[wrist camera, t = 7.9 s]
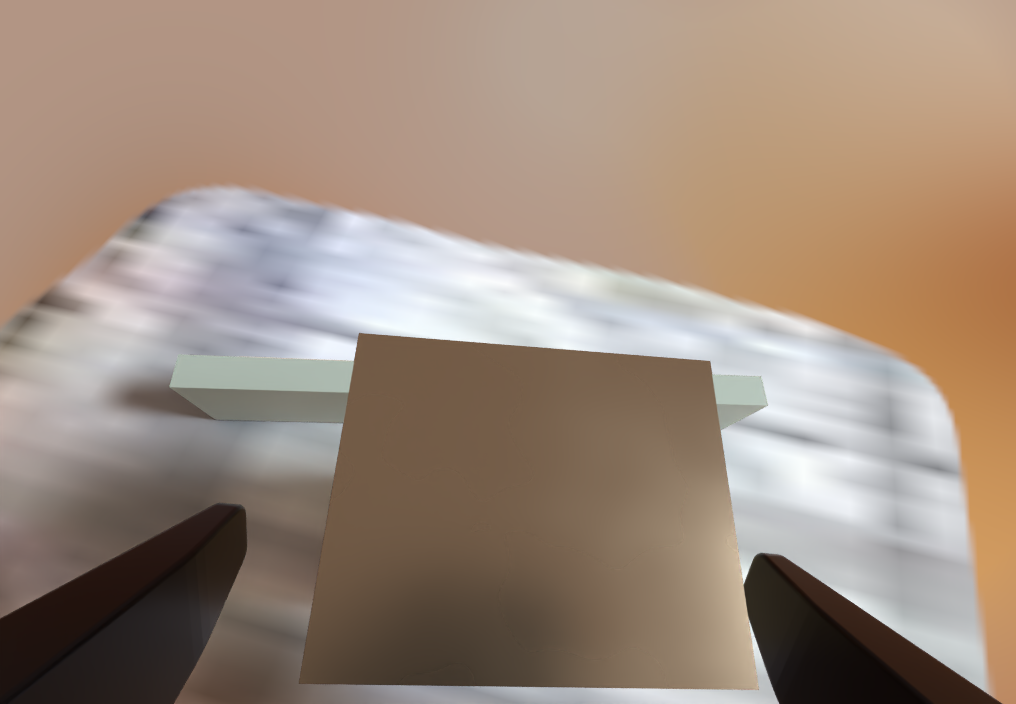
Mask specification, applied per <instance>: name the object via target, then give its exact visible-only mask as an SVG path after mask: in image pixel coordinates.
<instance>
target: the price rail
mask: <svg viewBox="0 0 1016 704" xmlns="http://www.w3.org/2000/svg"><path fill="white" fill-rule="evenodd" d="M353 365H354V361H346V360H319V359H293V358H266V357H229V356H202V355H178V358H177V361H176V365H175V368H174V372H173V375H172V379H171V383H170V386H169V387H170V388H171V389H172V390H174V391H175V392H177V393H178V394H180V395H181V396H182V397H184V398H185V399H187V400H188V401H190V402H191V403H192V404H194V405H195V406H197V407H198V408H199V409H201V410H202V411H204V412H205V413H207V414H208V415H209V416H211V417H212V418H214V419H215V420H244V421H286V422H328V423H344V417H345V411H346V406H347V400H348V394H349V388H350V382H351V376H352V371H353ZM712 377H713V384H714V390H715V397H716V404H717V411H718V417H719V424H720V431H721V430H723V429H724V428H726V427H728V426H730V425H732V424H734V423H736V422H738V421H740V420H741V419H743V418H745V417H747V416H749V415H751V414H753V413H755V412H757V411H758V410H760V409H762V408H764V407H766V406H768V403H767V399H766V395H765V391H764V386H763V382H762V378H761V376H735V375H712Z"/></svg>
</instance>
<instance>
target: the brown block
mask: <svg viewBox="0 0 1016 704" xmlns="http://www.w3.org/2000/svg"><path fill="white" fill-rule="evenodd" d="M299 684H355V685H431V686H507V687H584V688H660V689H737V690H759V687H758V680H757V673H756V667H755V660H754V653H753V646H752V640H751V633H750V626H749V619H748V613H747V606H746V599H745V592H744V586H743V579H742V572H741V566H740V559H739V552H738V545H737V539H736V532H735V525H734V518H733V512H732V505H731V498H730V491H729V485H728V478H727V471H726V464H725V458H724V451H723V444H722V438H721V431H720V424H719V417H718V411H717V404H716V397H715V390H714V384H713V377H712V370H711V363H710V361H702V360H689V359H677V358H664V357H652V356H639V355H627V354H614V353H601V352H589V351H576V350H564V349H551V348H539V347H526V346H514V345H501V344H488V343H476V342H463V341H451V340H438V339H426V338H413V337H401V336H388V335H376V334H363V333H359V336H358V342H357V347H356V353H355V359H354V365H353V371H352V376H351V382H350V388H349V394H348V400H347V406H346V411H345V417H344V423H343V429H342V435H341V440H340V446H339V452H338V458H337V464H336V470H335V475H334V481H333V487H332V493H331V499H330V504H329V510H328V516H327V522H326V528H325V533H324V539H323V545H322V551H321V557H320V563H319V568H318V574H317V580H316V586H315V592H314V597H313V603H312V609H311V615H310V621H309V627H308V632H307V638H306V644H305V650H304V656H303V661H302V667H301V673H300V679H299Z"/></svg>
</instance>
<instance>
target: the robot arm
mask: <svg viewBox="0 0 1016 704" xmlns="http://www.w3.org/2000/svg"><path fill="white" fill-rule="evenodd" d="M246 550H247V529H246V511H245V508H244V507H243V506H242V505H238V504H227V503H217V504H215V505H213V506H211V507H209V508H207V509H205V510H203V511H201V512H199V513H198V514H196V515H194V516H192V517H190V518H188V519H186V520H184V521H183V522H181V523H179V524H177V525H175V526H173V527H171V528H169V529H167V530H166V531H164V532H162V533H160V534H158V535H156V536H154V537H152V538H151V539H149V540H147V541H145V542H143V543H141V544H139V545H137V546H136V547H134V548H132V549H130V550H128V551H126V552H124V553H122V554H120V555H119V556H117V557H115V558H113V559H111V560H109V561H107V562H105V563H104V564H102V565H100V566H98V567H96V568H94V569H92V570H90V571H89V572H87V573H85V574H83V575H81V576H79V577H77V578H75V579H73V580H72V581H70V582H68V583H66V584H64V585H62V586H60V587H58V588H57V589H55V590H53V591H51V592H49V593H47V594H45V595H43V596H42V597H40V598H38V599H36V600H34V601H32V602H30V603H28V604H26V605H25V606H23V607H21V608H19V609H17V610H15V611H13V612H11V613H10V614H8V615H6V616H4V617H2V618H0V704H174V702H175V700H176V699H177V697H178V695H179V693H180V692H181V690H182V688H183V686H184V685H185V683H186V681H187V679H188V678H189V676H190V674H191V672H192V670H193V669H194V667H195V665H196V663H197V661H198V660H199V658H200V656H201V654H202V652H203V650H204V648H205V646H206V644H207V642H208V640H209V637H210V635H211V633H212V631H213V629H214V626H215V624H216V622H217V619H218V617H219V615H220V613H221V610H222V608H223V606H224V604H225V601H226V599H227V597H228V594H229V592H230V590H231V588H232V585H233V583H234V581H235V579H236V576H237V574H238V572H239V570H240V567H241V565H242V563H243V560H244V558H245V554H246ZM743 586H744V592H745V599H746V606H747V613H748V617H749V620H750V623H751V626H752V629H753V632H754V635H755V638H756V641H757V644H758V647H759V650H760V653H761V656H762V659H763V662H764V665H765V668H766V671H767V674H768V676H769V679H770V682H771V684H772V687H773V690H774V692H775V695H776V697H777V699H778V702H779V704H1002V703H1000V702H999V701H997V700H996V699H995V698H993V697H992V696H990V695H989V694H987V693H986V692H984V691H983V690H981V689H980V688H978V687H977V686H975V685H974V684H972V683H971V682H969V681H968V680H966V679H965V678H963V677H962V676H960V675H959V674H957V673H956V672H954V671H953V670H951V669H950V668H948V667H947V666H946V665H944V664H943V663H941V662H940V661H938V660H937V659H935V658H934V657H932V656H931V655H929V654H928V653H926V652H925V651H923V650H922V649H920V648H919V647H917V646H916V645H914V644H913V643H911V642H910V641H908V640H907V639H905V638H904V637H902V636H901V635H900V634H898V633H897V632H895V631H894V630H892V629H891V628H889V627H888V626H886V625H885V624H883V623H882V622H880V621H879V620H877V619H876V618H874V617H873V616H871V615H870V614H868V613H867V612H865V611H864V610H862V609H861V608H859V607H858V606H856V605H855V604H854V603H852V602H851V601H849V600H848V599H846V598H845V597H843V596H842V595H840V594H839V593H837V592H836V591H834V590H833V589H831V588H830V587H828V586H827V585H825V584H824V583H822V582H821V581H819V580H818V579H816V578H815V577H813V576H812V575H810V574H809V573H808V572H806V571H805V570H803V569H802V568H800V567H799V566H797V565H796V564H794V563H793V562H791V561H790V560H788V559H787V558H785V557H784V556H782V555H778V554H769V553H759V554H757V555H756V556H755V557H754V559H753V561H752V564H751V567H750V569H749V572H748V574H747V577H746V580H745V582H744V585H743Z"/></svg>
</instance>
